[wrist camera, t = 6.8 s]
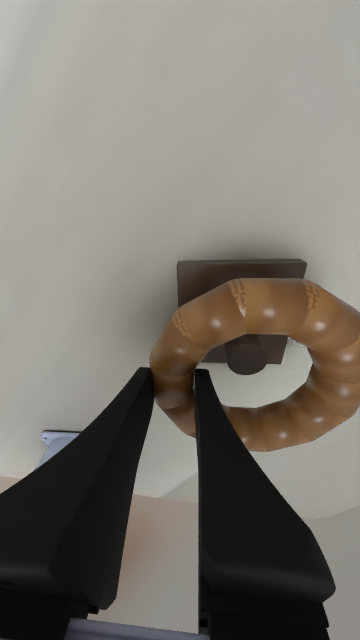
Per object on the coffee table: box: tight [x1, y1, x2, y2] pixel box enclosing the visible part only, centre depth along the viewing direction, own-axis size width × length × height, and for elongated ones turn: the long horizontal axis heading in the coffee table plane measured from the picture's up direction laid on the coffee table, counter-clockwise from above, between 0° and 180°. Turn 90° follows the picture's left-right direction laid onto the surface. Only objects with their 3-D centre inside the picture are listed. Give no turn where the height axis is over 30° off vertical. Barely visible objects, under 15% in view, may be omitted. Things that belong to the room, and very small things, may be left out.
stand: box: [177, 259, 307, 375], centre depth 15 cm, size 9×9×6 cm
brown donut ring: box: [149, 278, 360, 452], centre depth 11 cm, size 11×11×2 cm
